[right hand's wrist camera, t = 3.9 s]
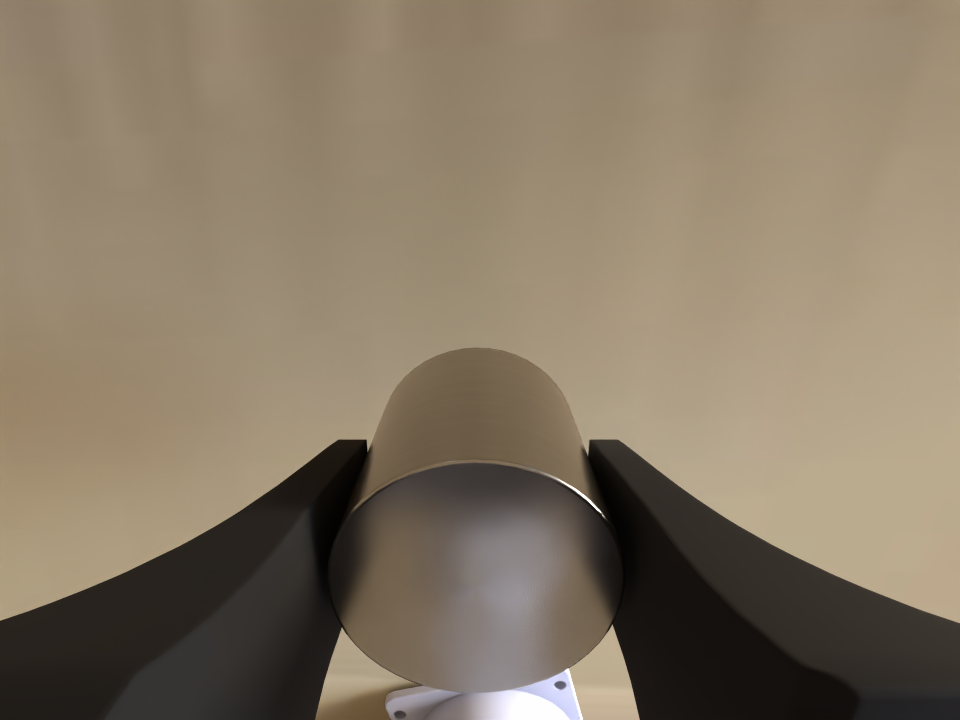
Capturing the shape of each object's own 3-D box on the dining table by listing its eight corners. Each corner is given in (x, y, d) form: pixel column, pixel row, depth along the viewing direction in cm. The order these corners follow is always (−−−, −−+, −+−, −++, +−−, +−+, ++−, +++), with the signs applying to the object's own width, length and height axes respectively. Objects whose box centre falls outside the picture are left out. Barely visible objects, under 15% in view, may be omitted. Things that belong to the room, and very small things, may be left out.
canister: (475, 305, 12) (472, 396, 7) (613, 435, 13) (689, 588, 8) (342, 438, 13) (264, 591, 8) (479, 546, 14) (478, 733, 9)
